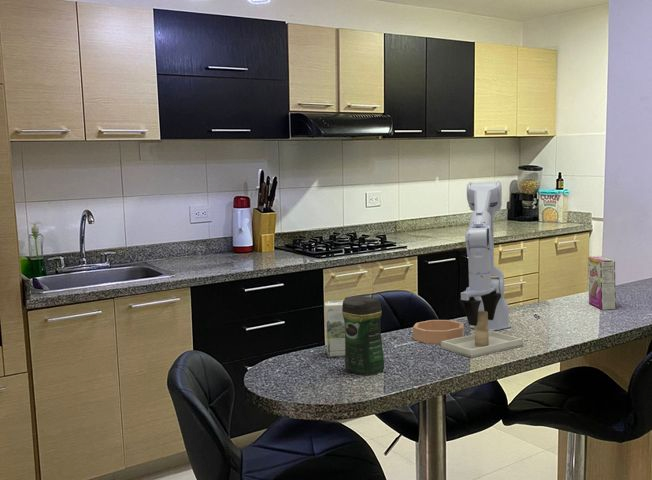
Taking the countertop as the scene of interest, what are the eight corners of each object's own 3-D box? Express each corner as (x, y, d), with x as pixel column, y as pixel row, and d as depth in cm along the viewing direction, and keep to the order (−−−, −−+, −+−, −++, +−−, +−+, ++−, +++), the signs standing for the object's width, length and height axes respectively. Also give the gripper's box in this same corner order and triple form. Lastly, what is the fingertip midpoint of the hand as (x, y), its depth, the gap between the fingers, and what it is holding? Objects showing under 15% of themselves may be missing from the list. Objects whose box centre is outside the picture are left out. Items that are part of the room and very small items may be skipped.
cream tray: (491, 337, 184) (491, 330, 184) (523, 346, 173) (522, 338, 173) (441, 348, 175) (441, 341, 175) (471, 358, 165) (471, 350, 165)
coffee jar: (390, 370, 158) (386, 296, 156) (366, 378, 153) (362, 301, 151) (363, 363, 165) (360, 291, 164) (339, 370, 160) (336, 296, 159)
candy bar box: (587, 303, 221) (587, 256, 220) (602, 303, 221) (601, 255, 220) (601, 310, 210) (600, 260, 209) (616, 309, 210) (616, 259, 208)
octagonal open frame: (442, 329, 197) (442, 317, 196) (473, 337, 184) (473, 325, 184) (405, 336, 190) (404, 325, 190) (434, 346, 178) (434, 333, 178)
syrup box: (347, 351, 178) (345, 299, 177) (349, 356, 172) (346, 303, 171) (327, 352, 178) (324, 300, 176) (327, 358, 172) (324, 304, 171)
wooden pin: (479, 342, 177) (478, 310, 176) (491, 344, 174) (490, 311, 173) (472, 345, 174) (471, 312, 173) (483, 347, 172) (482, 314, 171)
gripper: (482, 267, 180) (484, 315, 181) (450, 275, 171) (452, 325, 172) (504, 269, 175) (506, 318, 176) (472, 277, 165) (474, 329, 167)
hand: (481, 322), depth 174 cm, fingers open, 7 cm apart
